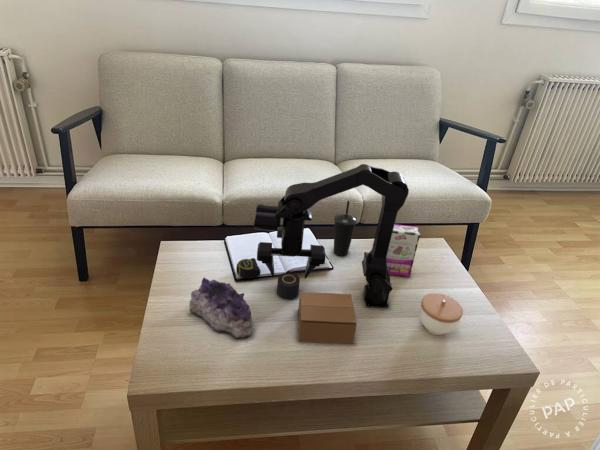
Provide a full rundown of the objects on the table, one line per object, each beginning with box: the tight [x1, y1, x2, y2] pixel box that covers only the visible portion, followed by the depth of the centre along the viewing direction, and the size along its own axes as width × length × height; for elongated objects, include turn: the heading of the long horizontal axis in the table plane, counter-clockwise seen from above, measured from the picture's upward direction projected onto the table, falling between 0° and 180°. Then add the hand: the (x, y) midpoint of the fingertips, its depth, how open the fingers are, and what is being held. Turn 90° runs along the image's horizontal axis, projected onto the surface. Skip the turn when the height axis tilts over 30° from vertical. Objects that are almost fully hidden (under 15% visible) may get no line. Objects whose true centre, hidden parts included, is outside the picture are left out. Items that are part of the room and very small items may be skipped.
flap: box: [299, 291, 355, 309], centre depth 110 cm, size 14×5×1 cm, turn 91°
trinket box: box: [419, 292, 464, 336], centre depth 112 cm, size 11×11×9 cm
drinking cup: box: [333, 200, 358, 258], centre depth 137 cm, size 8×8×20 cm
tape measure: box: [235, 257, 261, 279], centre depth 127 cm, size 7×7×4 cm
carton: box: [297, 296, 358, 345], centre depth 109 cm, size 14×11×7 cm
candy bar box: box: [386, 223, 421, 278], centre depth 131 cm, size 11×5×16 cm, turn 84°
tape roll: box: [276, 272, 301, 301], centre depth 121 cm, size 6×6×5 cm
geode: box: [188, 277, 254, 340], centre depth 109 cm, size 20×12×10 cm, turn 53°
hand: (289, 277), depth 119 cm, fingers open, 9 cm apart
